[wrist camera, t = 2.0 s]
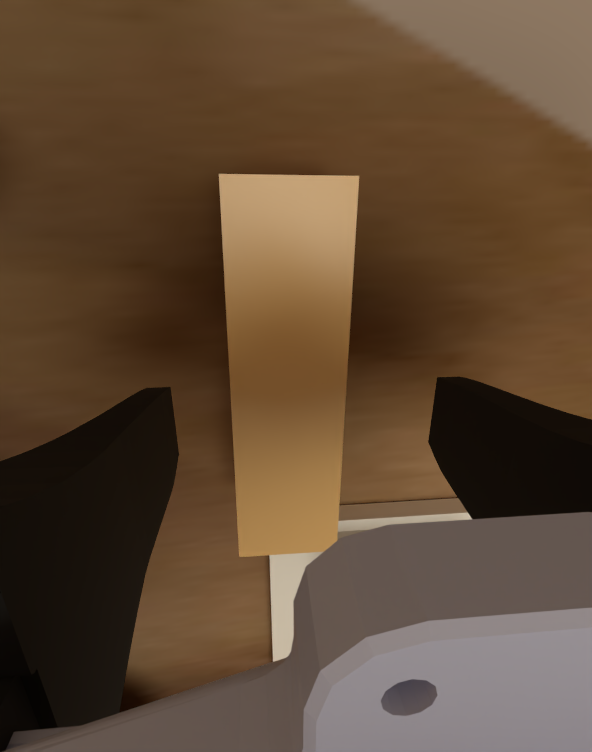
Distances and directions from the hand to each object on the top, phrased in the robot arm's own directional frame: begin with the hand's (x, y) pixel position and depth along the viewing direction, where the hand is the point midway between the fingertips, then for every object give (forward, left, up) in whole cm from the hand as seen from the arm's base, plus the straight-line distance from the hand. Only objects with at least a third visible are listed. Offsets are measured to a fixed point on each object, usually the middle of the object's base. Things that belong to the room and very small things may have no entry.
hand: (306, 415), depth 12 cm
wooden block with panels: (0, 0, -6) cm, 6 cm away
